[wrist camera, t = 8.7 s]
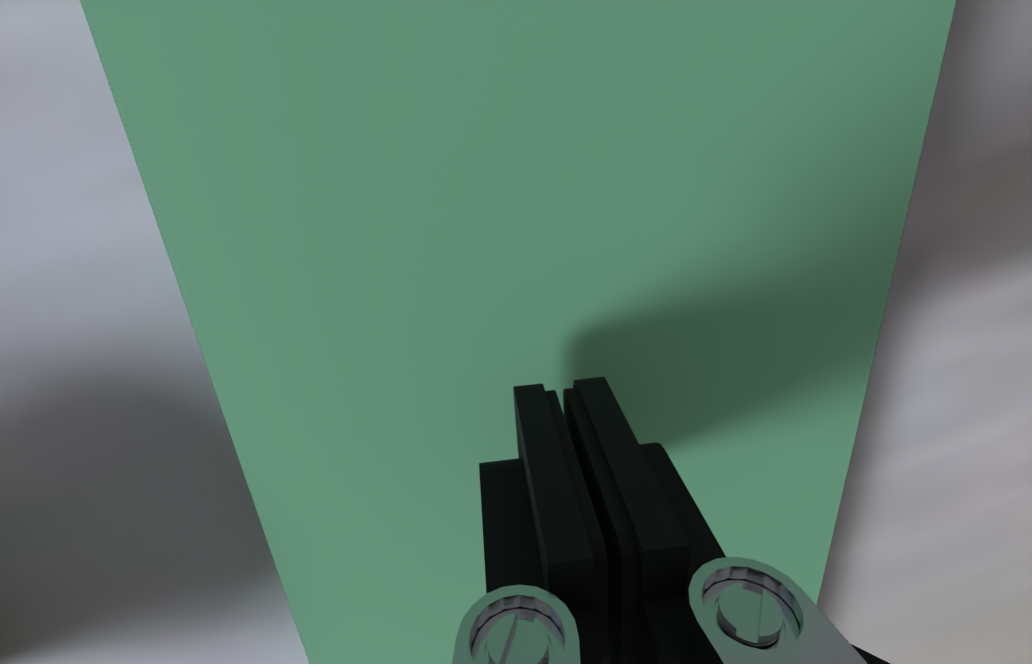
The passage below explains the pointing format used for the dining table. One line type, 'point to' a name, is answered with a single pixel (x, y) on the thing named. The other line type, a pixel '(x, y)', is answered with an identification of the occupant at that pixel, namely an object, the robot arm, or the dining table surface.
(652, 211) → the green
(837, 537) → the dining table surface
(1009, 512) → the dining table surface
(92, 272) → the dining table surface
